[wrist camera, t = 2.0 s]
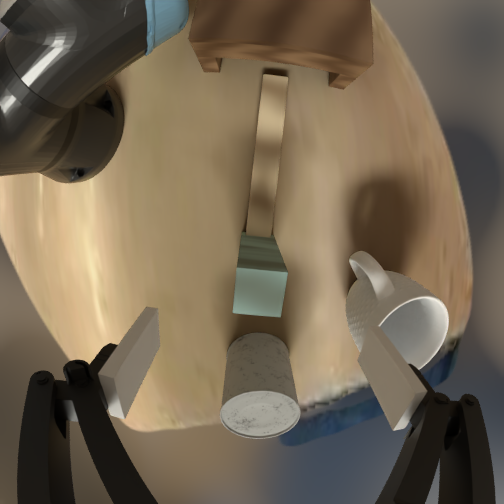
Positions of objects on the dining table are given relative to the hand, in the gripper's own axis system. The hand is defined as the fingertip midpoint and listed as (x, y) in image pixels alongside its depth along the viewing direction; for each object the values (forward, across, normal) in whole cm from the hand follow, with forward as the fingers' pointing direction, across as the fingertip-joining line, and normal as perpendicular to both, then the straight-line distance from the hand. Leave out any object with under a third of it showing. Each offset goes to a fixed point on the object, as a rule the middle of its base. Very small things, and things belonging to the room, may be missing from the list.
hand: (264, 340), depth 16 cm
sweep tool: (+20, 0, +10) cm, 23 cm away
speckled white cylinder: (+21, +2, -17) cm, 27 cm away
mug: (+21, +16, -4) cm, 27 cm away
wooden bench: (+20, 0, +30) cm, 36 cm away
